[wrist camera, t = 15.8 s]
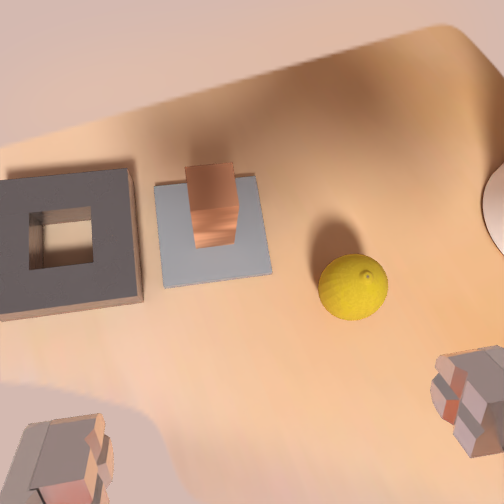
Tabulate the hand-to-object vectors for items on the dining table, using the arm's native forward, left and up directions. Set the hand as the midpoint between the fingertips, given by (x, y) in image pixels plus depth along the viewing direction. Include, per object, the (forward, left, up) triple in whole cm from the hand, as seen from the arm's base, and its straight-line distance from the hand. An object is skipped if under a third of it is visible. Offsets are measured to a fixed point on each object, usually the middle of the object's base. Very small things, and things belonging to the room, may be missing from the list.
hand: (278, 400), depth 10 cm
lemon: (-11, -6, -28) cm, 30 cm away
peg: (0, -14, -27) cm, 30 cm away
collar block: (+13, -14, -27) cm, 33 cm away
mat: (0, -14, -27) cm, 31 cm away
